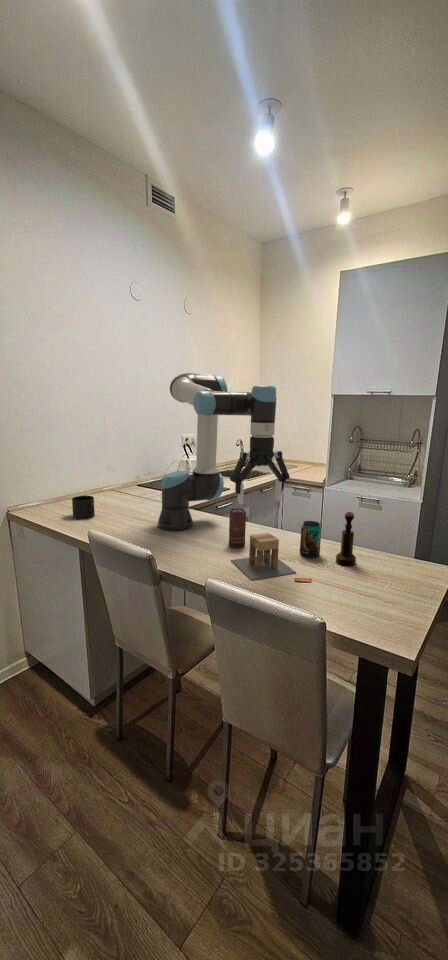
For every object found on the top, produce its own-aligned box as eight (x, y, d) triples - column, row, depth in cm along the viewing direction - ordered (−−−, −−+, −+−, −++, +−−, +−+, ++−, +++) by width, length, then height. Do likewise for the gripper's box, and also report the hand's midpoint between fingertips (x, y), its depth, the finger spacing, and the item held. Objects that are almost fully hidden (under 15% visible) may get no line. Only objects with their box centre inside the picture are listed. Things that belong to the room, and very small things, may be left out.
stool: (249, 563, 133) (250, 534, 131) (267, 560, 135) (268, 532, 133) (258, 571, 126) (259, 541, 125) (277, 568, 129) (278, 539, 127)
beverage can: (295, 554, 142) (297, 523, 140) (306, 550, 147) (308, 519, 145) (313, 560, 137) (315, 527, 135) (323, 555, 142) (325, 523, 140)
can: (244, 549, 147) (245, 512, 144) (227, 547, 148) (228, 511, 145) (246, 543, 152) (247, 508, 150) (230, 542, 154) (231, 507, 151)
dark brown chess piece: (341, 557, 141) (345, 508, 137) (359, 562, 136) (363, 512, 133) (332, 562, 136) (336, 512, 133) (349, 568, 131) (354, 516, 128)
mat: (230, 561, 135) (230, 559, 135) (272, 555, 141) (272, 554, 141) (250, 580, 121) (251, 579, 121) (296, 573, 127) (296, 572, 126)
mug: (85, 522, 175) (84, 502, 173) (68, 517, 182) (67, 498, 180) (102, 517, 183) (101, 498, 181) (86, 513, 189) (85, 494, 188)
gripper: (230, 438, 115) (228, 507, 120) (302, 436, 125) (298, 501, 129) (220, 435, 122) (219, 501, 126) (290, 434, 131) (286, 496, 136)
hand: (259, 501), depth 128 cm, fingers open, 13 cm apart
